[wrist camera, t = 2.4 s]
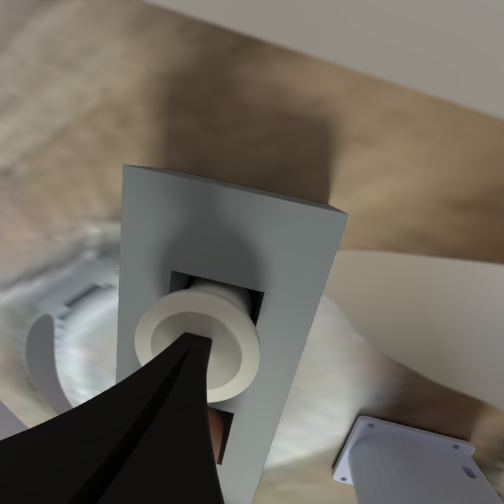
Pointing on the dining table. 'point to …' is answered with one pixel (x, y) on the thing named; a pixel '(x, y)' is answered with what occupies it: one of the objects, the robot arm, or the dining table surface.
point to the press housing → (231, 272)
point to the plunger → (206, 332)
